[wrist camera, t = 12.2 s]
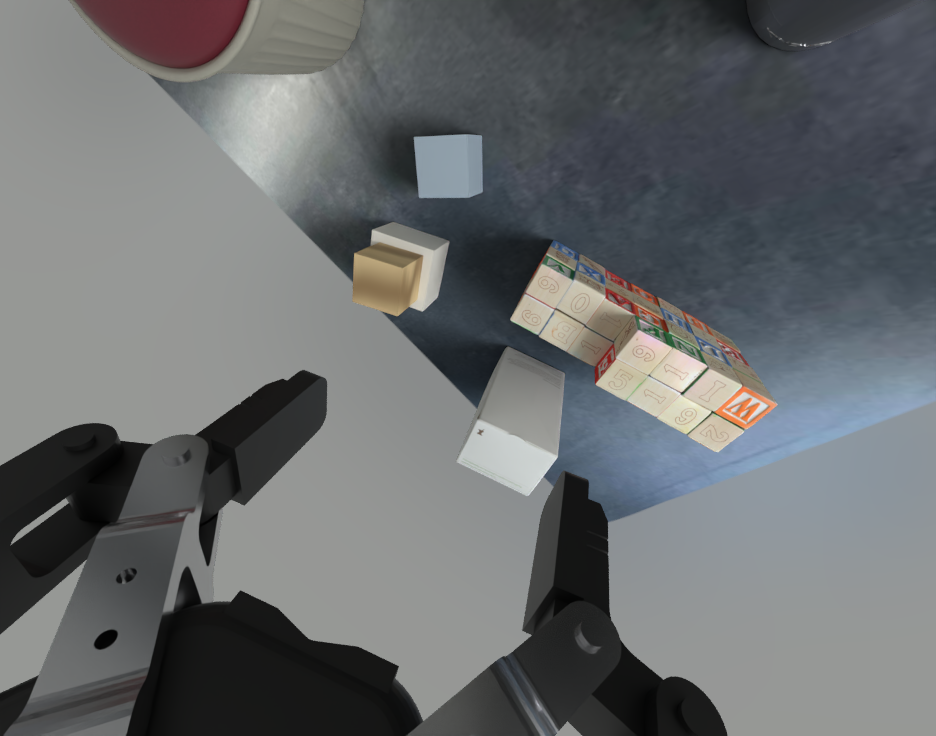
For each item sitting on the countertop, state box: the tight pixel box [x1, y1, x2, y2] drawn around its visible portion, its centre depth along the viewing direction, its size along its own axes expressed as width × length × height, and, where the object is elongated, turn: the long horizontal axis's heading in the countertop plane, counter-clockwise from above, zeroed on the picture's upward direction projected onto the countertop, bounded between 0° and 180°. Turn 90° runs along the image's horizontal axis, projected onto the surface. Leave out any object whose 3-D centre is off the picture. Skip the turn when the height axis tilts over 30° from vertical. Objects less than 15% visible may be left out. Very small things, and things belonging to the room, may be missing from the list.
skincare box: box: [456, 347, 565, 496], centre depth 42 cm, size 8×7×16 cm
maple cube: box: [353, 242, 423, 316], centre depth 39 cm, size 5×5×5 cm
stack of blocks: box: [510, 240, 777, 452], centre depth 36 cm, size 21×6×12 cm, turn 65°
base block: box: [371, 222, 449, 312], centre depth 43 cm, size 7×7×5 cm
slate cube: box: [414, 134, 483, 198], centre depth 37 cm, size 5×5×5 cm
